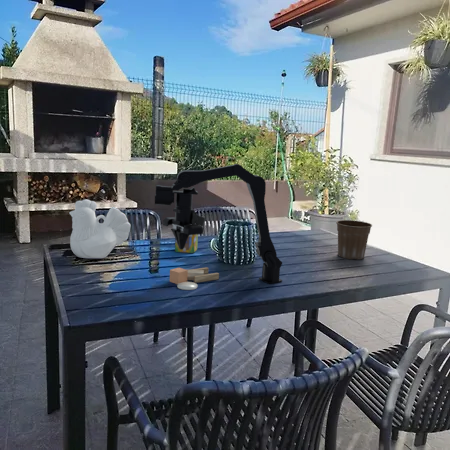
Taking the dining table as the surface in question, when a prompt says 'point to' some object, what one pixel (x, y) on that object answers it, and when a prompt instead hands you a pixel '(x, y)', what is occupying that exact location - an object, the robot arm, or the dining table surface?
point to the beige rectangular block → (194, 274)
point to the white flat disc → (187, 285)
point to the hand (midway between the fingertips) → (181, 249)
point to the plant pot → (352, 238)
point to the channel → (205, 276)
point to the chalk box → (188, 244)
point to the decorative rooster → (96, 230)
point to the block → (178, 275)
